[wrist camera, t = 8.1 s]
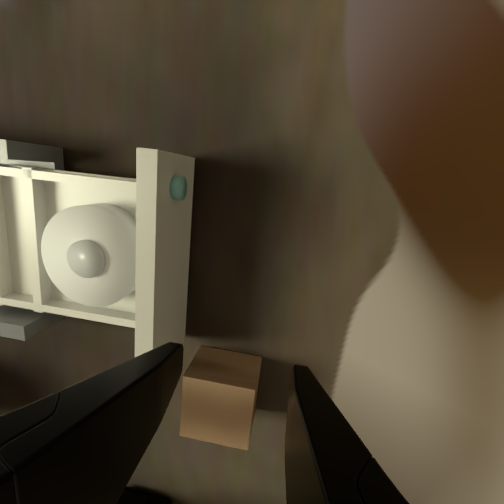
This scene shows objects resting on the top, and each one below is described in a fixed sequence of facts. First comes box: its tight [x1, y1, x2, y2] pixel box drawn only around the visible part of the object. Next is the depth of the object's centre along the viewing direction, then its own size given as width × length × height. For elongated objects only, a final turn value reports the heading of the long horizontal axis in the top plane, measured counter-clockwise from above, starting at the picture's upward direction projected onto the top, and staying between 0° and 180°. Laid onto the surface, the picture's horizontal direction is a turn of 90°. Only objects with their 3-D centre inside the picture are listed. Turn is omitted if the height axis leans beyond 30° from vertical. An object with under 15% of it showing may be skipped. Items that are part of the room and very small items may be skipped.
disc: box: [41, 203, 136, 307], centre depth 18 cm, size 6×6×2 cm
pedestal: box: [180, 346, 262, 451], centre depth 20 cm, size 4×4×4 cm
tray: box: [0, 148, 195, 357], centre depth 18 cm, size 12×13×5 cm
